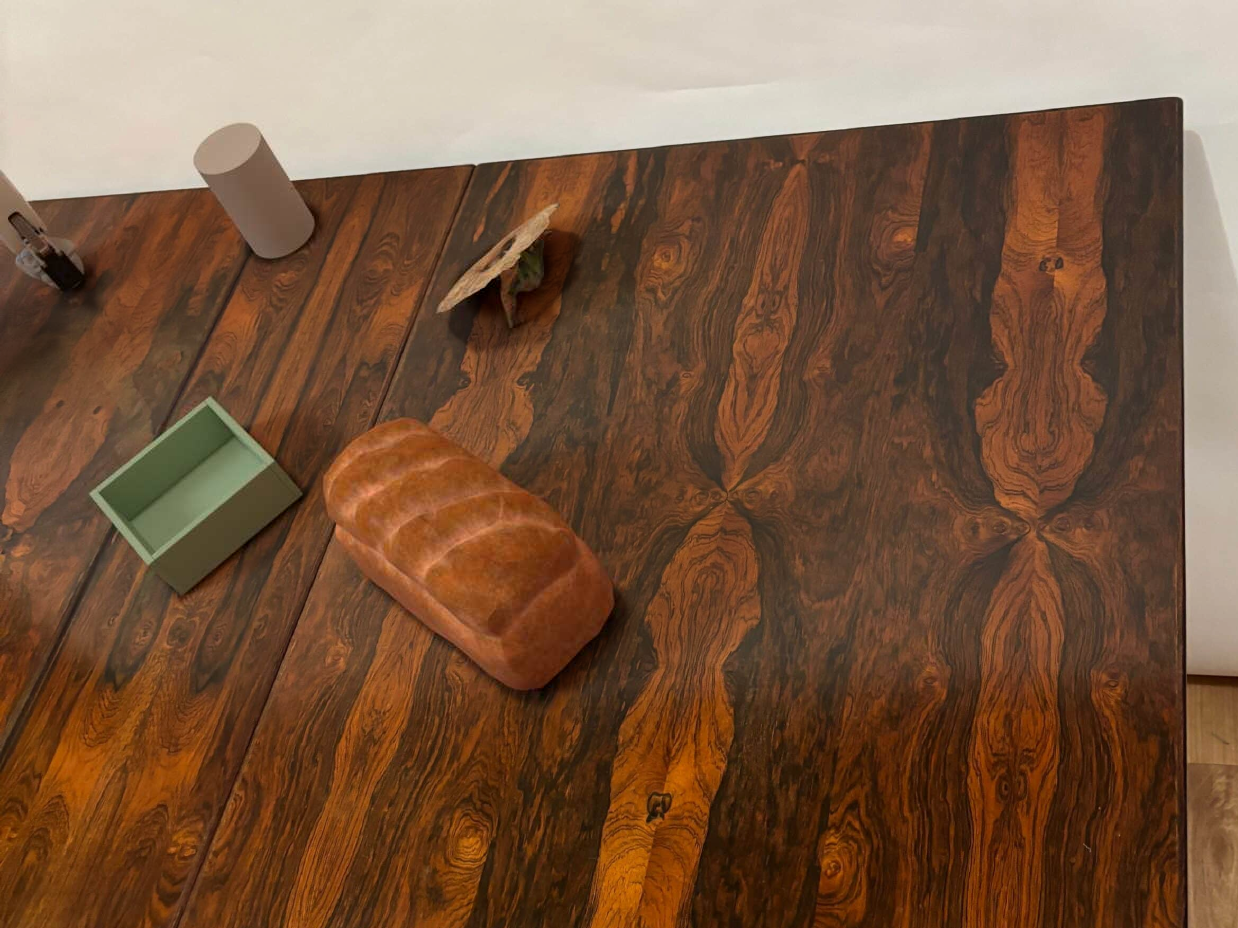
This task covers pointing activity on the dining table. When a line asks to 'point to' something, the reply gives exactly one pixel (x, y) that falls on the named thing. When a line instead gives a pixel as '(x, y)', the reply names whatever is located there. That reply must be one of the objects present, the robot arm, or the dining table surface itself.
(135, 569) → the dining table surface
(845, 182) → the dining table surface
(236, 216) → the grey tilted cylinder
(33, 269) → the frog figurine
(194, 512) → the tub
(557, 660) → the bread
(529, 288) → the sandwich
